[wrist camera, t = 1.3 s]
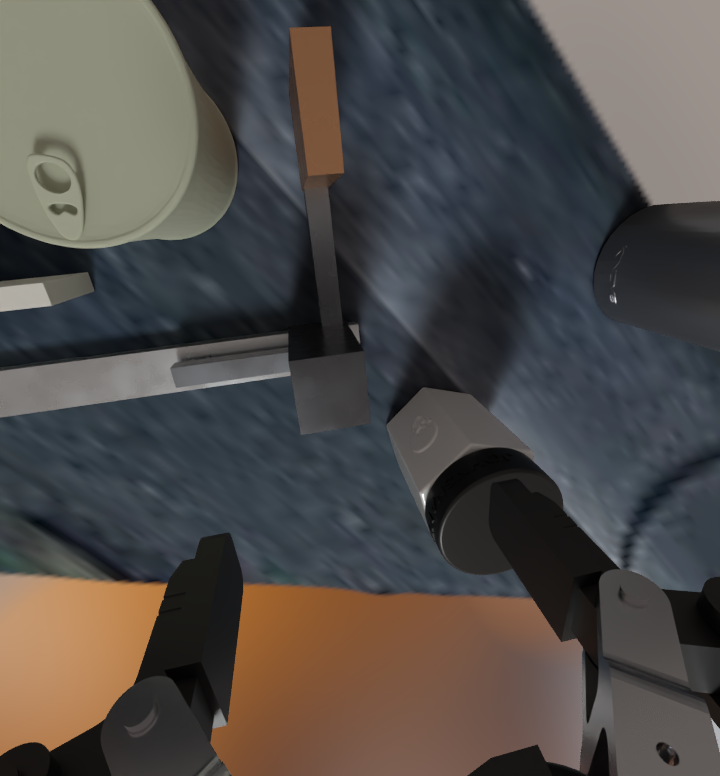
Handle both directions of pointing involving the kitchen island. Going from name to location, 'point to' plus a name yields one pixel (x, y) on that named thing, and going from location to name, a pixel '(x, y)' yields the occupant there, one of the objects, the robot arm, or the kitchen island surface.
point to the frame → (43, 291)
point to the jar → (461, 472)
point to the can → (105, 127)
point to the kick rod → (333, 335)
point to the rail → (121, 373)
